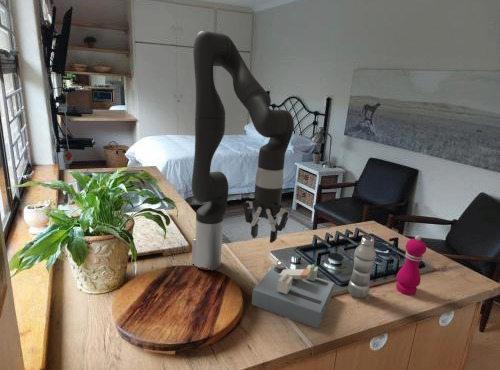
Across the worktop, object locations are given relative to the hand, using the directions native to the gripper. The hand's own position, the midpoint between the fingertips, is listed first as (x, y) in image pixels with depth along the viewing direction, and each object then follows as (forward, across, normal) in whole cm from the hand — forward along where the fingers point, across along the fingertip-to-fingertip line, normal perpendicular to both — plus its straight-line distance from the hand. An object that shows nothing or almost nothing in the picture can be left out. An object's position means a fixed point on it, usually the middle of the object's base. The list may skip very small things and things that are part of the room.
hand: (263, 239), depth 103 cm
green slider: (+14, +13, +10) cm, 22 cm away
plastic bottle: (+20, +27, +18) cm, 38 cm away
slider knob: (+14, +8, 0) cm, 16 cm away
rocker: (+12, +9, +6) cm, 16 cm away
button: (+14, +3, +10) cm, 18 cm away
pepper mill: (+20, +41, +30) cm, 54 cm away
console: (+19, +10, +4) cm, 22 cm away
